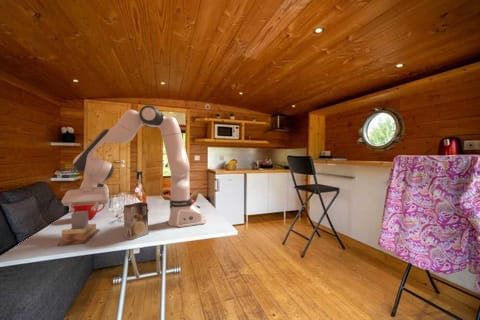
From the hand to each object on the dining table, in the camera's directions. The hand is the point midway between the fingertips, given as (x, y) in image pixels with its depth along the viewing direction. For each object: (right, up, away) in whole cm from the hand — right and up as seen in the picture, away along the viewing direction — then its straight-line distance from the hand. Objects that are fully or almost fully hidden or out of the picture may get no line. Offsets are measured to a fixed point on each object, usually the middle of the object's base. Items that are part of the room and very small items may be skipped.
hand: (82, 211), depth 104 cm
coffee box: (+27, -13, +1) cm, 29 cm away
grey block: (0, -8, -2) cm, 8 cm away
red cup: (-17, -12, +29) cm, 36 cm away
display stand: (0, -13, -2) cm, 13 cm away
